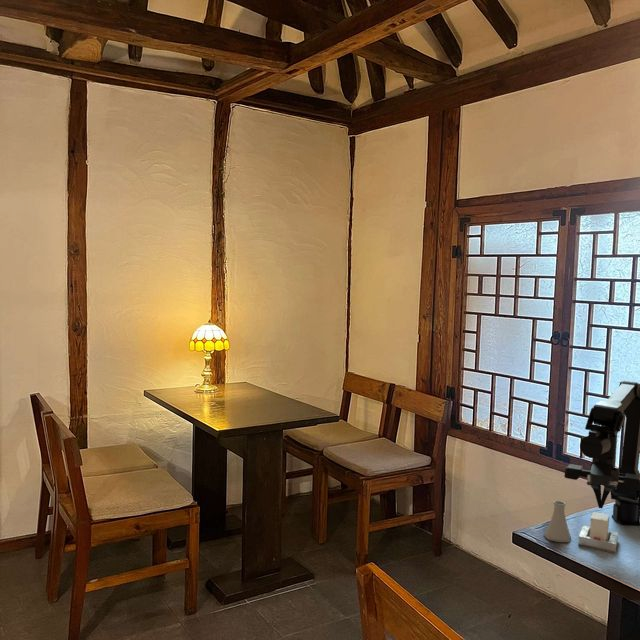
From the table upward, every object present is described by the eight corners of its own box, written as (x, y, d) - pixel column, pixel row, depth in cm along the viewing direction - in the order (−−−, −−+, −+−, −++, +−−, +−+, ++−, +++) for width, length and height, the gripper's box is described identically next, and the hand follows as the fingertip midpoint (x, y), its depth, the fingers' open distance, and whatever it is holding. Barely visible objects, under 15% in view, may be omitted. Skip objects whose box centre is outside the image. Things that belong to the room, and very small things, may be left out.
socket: (582, 534, 180) (583, 523, 180) (618, 541, 176) (618, 530, 176) (578, 545, 173) (578, 534, 172) (614, 553, 168) (615, 542, 168)
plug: (591, 536, 178) (593, 511, 177) (607, 539, 176) (609, 514, 175) (589, 543, 173) (590, 518, 172) (605, 546, 171) (607, 521, 170)
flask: (573, 544, 173) (576, 508, 172) (545, 541, 174) (547, 505, 174) (568, 534, 180) (571, 499, 179) (541, 531, 181) (543, 496, 181)
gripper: (562, 452, 170) (559, 509, 171) (641, 464, 161) (637, 525, 162) (569, 443, 180) (566, 497, 181) (643, 454, 171) (639, 511, 172)
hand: (600, 507), depth 174 cm, fingers closed
